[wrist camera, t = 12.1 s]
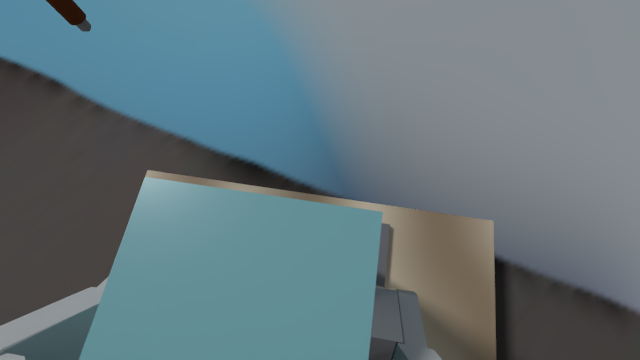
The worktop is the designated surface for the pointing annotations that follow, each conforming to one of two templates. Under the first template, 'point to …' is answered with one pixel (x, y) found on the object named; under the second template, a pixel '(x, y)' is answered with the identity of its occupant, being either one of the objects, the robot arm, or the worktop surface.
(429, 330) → the post board
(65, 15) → the magnifying glass
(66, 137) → the worktop surface
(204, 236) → the teal pillar
